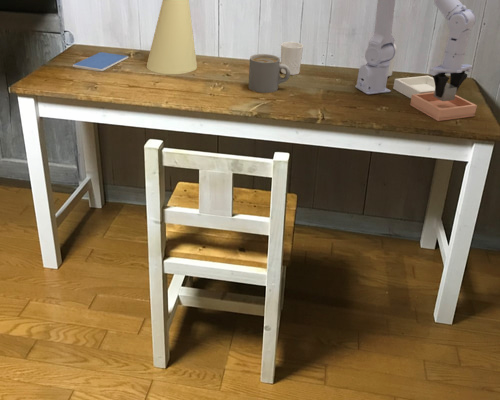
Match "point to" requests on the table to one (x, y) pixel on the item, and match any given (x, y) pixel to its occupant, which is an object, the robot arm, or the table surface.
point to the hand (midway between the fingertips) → (445, 95)
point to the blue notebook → (100, 61)
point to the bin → (443, 107)
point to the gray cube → (447, 93)
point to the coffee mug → (266, 73)
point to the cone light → (173, 40)
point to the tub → (414, 85)
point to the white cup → (291, 56)
